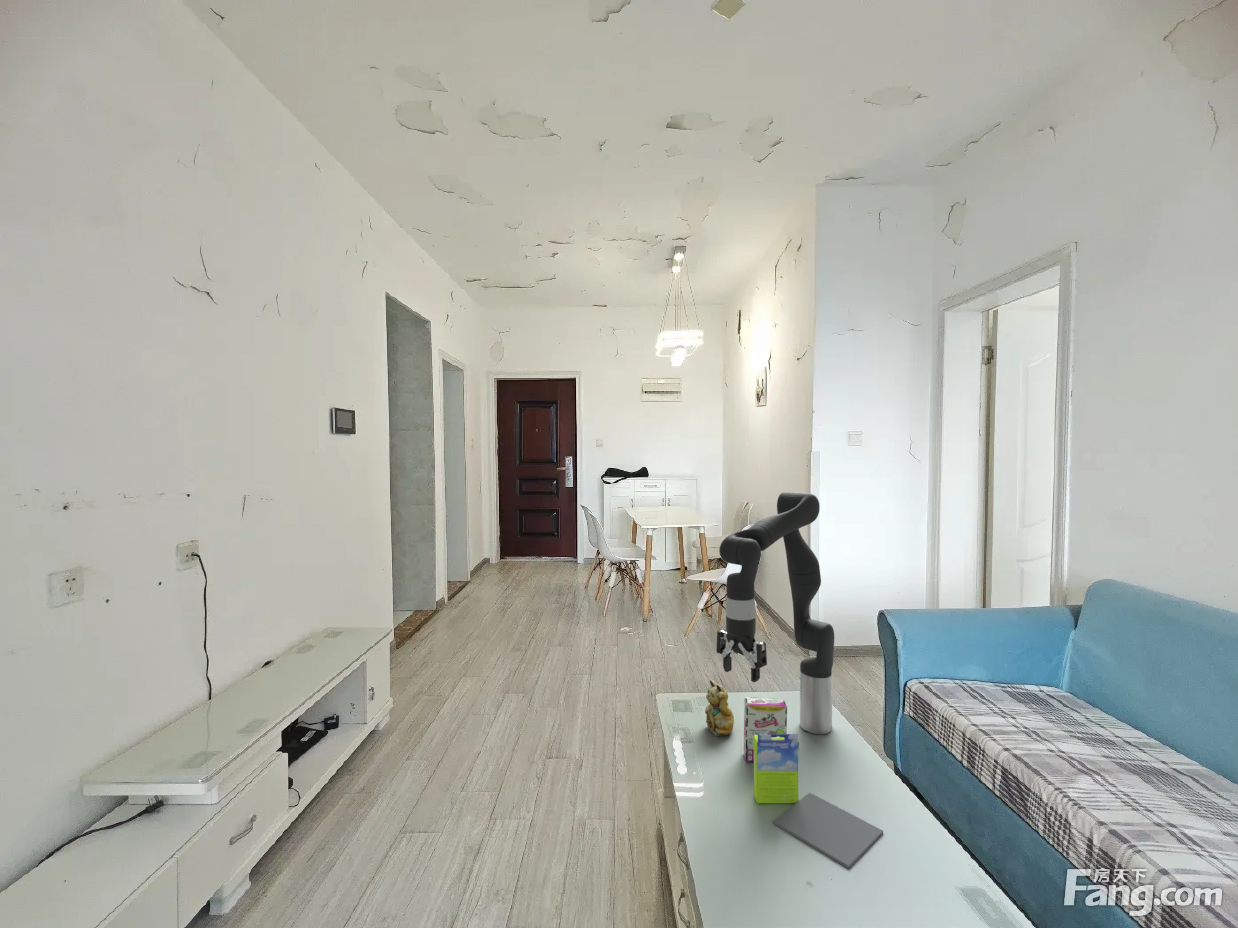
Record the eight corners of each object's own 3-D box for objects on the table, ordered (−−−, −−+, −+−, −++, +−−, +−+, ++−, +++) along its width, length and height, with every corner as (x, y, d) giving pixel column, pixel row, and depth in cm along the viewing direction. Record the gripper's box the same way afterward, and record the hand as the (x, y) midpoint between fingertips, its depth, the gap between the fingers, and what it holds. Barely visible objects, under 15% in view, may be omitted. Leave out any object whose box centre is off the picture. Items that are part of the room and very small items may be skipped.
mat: (809, 794, 135) (809, 792, 135) (883, 833, 121) (883, 830, 121) (772, 823, 125) (772, 820, 125) (848, 868, 111) (848, 865, 111)
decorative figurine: (700, 726, 169) (700, 678, 169) (722, 720, 173) (722, 674, 172) (718, 740, 160) (718, 690, 160) (741, 734, 164) (741, 685, 164)
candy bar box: (745, 763, 149) (745, 704, 149) (743, 753, 154) (743, 696, 154) (787, 765, 148) (787, 706, 147) (783, 755, 153) (783, 697, 152)
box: (794, 794, 135) (794, 725, 135) (799, 804, 131) (800, 734, 131) (752, 794, 135) (752, 725, 135) (756, 804, 131) (756, 734, 131)
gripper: (772, 617, 137) (773, 680, 137) (727, 605, 148) (728, 663, 148) (754, 624, 132) (755, 689, 133) (709, 611, 143) (710, 671, 143)
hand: (741, 675), depth 140 cm, fingers open, 8 cm apart
